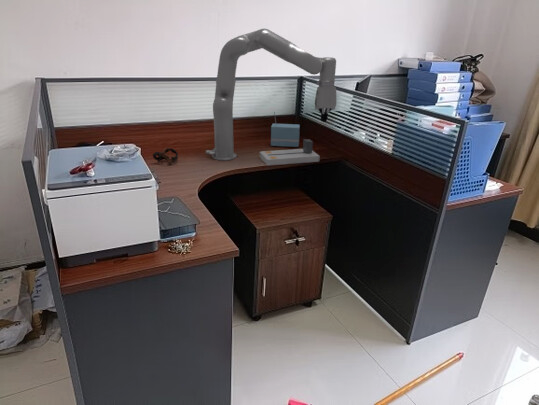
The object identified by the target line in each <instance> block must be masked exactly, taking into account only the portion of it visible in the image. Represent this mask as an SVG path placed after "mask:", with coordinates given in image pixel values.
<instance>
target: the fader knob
mask: <svg viewBox="0 0 539 405" xmlns="http://www.w3.org/2000/svg"><path fill="white" fill-rule="evenodd" d="M313 143H314V141H313V140H311V139H309V138H308V139H304V138H303V143H302V145H303V146H302V149H303V151H304V152H305V153H312V150H313V146H314V144H313Z"/></svg>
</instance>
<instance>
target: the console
mask: <svg viewBox="0 0 539 405" xmlns="http://www.w3.org/2000/svg"><path fill="white" fill-rule="evenodd" d="M259 158H260V159H261V160H262V161H264V162H265V163H266V164H267V165H266V164H265V163H264V162H263V163H264V164H265V165H266V166H276V165H278V166H279V165H292V164H293V165H294V164H304V163H318V162H320V155H319V154H318V153H316V152H315V151H314V150H313V149H312V153H305V152H304V151H303V148H293V149H291V148H290V149H280V150H264V151H263V150H262V151H259Z"/></svg>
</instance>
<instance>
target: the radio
mask: <svg viewBox="0 0 539 405" xmlns="http://www.w3.org/2000/svg"><path fill="white" fill-rule="evenodd" d="M274 116H276V112H275V111H274ZM274 122H275V123H271V124H272V125H271V127H270V128H271V129H270V146H273V147H274V148H275V146H276V147H289V148H291V147H293V149H296V148H299V145H300V127H301V126H300V125H301V124H293V123H277V119H276V117H274Z"/></svg>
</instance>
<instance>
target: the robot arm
mask: <svg viewBox="0 0 539 405" xmlns="http://www.w3.org/2000/svg"><path fill="white" fill-rule="evenodd" d="M261 49H263V50H264V51H266V52H269V53H270V54H273V55H274V56H276V57H277V58H279V59H282V61H285V62H287V63H289V64H293V65H294V66H296V67H298V68H299V69H302V70H303V71H305V72H307V73H309V74H310V75H314V76H315V75H318V74H319V77H318V78H319V80H318V81H316V85H317V88H316V92H315V97H314V99H315V100H314V110H316V111H318V112H319V113H320V120H321V122H323V123H327V121H328V115H329V113H330V112H331V111H333V110H335V109H336V107H337V88H336V86H335V82H336V81H335V80H336V68H337V59H336V58H335V57H329V56H327V57H317V56H316V55H315V56H314V55H313V54H311V53H309V52H307V51H305V50H303V49H302V48H300V47H299V46H298V45H296V44H295V43H293V42H292V41H290V40H288V39H286V38H284V37H283V36H281V35H279V34H278V33H275V32H273V31H271V30H270V29H269V28H268V29H267V28H260V29H257V30H254V31H251V32H248V33H244V34H242V35H238V36H236V37H233V38H231V39H229V40H227V41H226V43H225V44H224V45H223V47H222V49H221V50H220V54H219V60H218V66H217V76H216V79H215V90H214V92H215V94H214V98H213V99H214V100H213V103H212V113H213V114H212V115H213V130H214V131H213V132H214V135H213V136H214V147H213V149H211V150H210V149H209V150H207V149H206V150H205V154H206V155H209V156H211V155H212V159H213V160H216V161H232V160H234V159H237V154H236V153H235V152H234V121H233V120H234V119H233V118H234V116H233V115H234V113H233V111H234V110H233V109H234V95H235V90H236V89H235V88H236V73H237V66H238V65H237V64H238V61H239V58H240V57H242V56H245V55H246V54H248V53H251V52H255V51H258V50H261Z"/></svg>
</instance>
